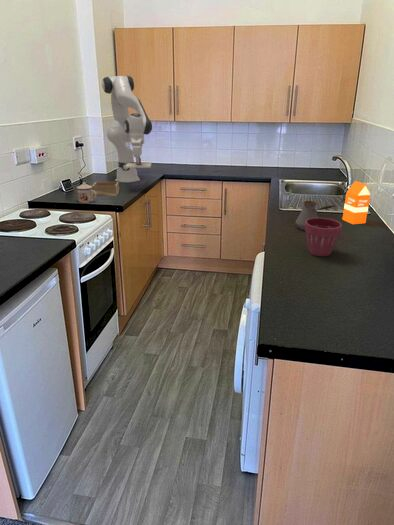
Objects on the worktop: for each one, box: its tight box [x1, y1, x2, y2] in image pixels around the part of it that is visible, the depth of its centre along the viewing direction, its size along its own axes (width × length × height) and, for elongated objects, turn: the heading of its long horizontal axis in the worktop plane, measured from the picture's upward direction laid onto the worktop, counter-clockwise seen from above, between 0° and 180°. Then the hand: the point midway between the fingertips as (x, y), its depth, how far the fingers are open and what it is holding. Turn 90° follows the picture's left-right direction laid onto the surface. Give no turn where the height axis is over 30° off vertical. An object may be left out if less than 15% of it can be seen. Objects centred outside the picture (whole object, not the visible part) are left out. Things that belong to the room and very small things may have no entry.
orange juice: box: [341, 180, 371, 225], centre depth 197 cm, size 8×9×20 cm
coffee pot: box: [295, 200, 337, 231], centre depth 183 cm, size 21×12×15 cm, turn 27°
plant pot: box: [304, 217, 343, 257], centre depth 158 cm, size 14×14×13 cm
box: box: [91, 181, 120, 197], centre depth 252 cm, size 13×15×7 cm
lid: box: [125, 157, 152, 169], centre depth 255 cm, size 14×16×5 cm
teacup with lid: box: [76, 182, 97, 204], centre depth 233 cm, size 12×9×12 cm
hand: (138, 162), depth 255 cm, fingers closed on lid, 3 cm apart
